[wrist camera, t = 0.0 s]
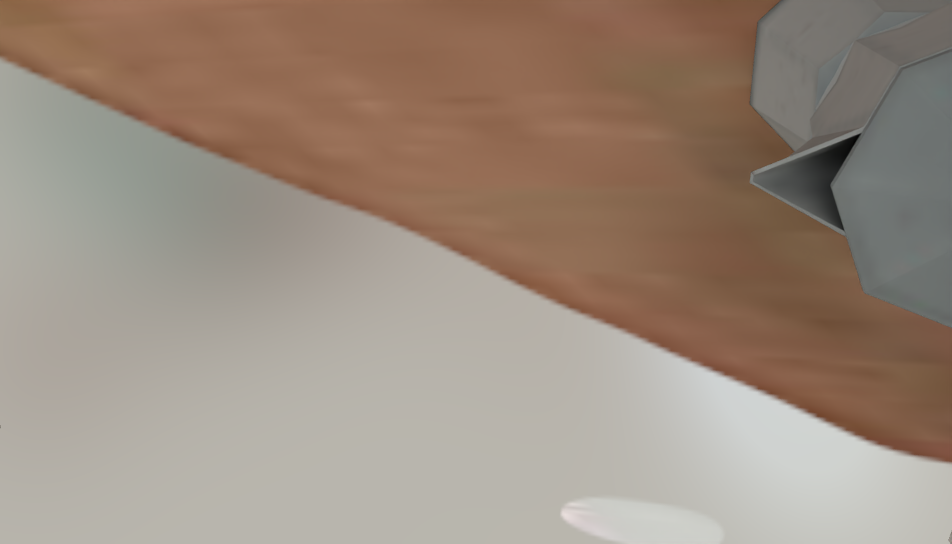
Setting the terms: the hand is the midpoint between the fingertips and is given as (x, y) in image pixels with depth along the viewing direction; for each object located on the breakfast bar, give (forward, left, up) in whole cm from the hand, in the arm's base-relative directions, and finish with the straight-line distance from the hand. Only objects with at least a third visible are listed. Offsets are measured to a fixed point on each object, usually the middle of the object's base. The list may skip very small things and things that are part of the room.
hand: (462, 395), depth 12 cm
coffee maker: (+1, +14, -28) cm, 31 cm away
